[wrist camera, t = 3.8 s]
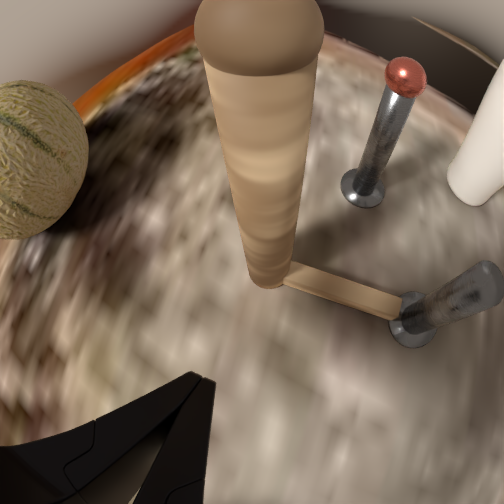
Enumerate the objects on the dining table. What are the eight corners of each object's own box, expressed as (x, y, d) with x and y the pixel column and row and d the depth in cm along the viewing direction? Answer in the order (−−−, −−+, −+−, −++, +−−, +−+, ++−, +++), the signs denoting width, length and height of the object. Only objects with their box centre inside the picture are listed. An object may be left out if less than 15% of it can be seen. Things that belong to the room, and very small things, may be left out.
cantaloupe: (122, 227, 26) (24, 108, 12) (8, 284, 25) (-100, 221, 11) (105, 124, 31) (51, 23, 17) (11, 178, 30) (-58, 106, 16)
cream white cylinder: (487, 226, 24) (580, 133, 10) (433, 194, 25) (512, 76, 12) (491, 178, 26) (561, 85, 12) (442, 148, 27) (500, 40, 14)
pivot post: (403, 358, 21) (481, 343, 11) (379, 308, 22) (442, 263, 13) (444, 330, 21) (526, 299, 12) (421, 283, 23) (491, 230, 13)
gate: (397, 292, 22) (595, 103, 3) (387, 331, 21) (631, 186, 2) (256, 243, 24) (222, -41, 6) (240, 281, 23) (155, -2, 5)
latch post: (355, 214, 25) (410, 86, 12) (332, 178, 26) (363, 45, 14) (392, 199, 25) (455, 79, 13) (367, 164, 27) (411, 41, 14)
